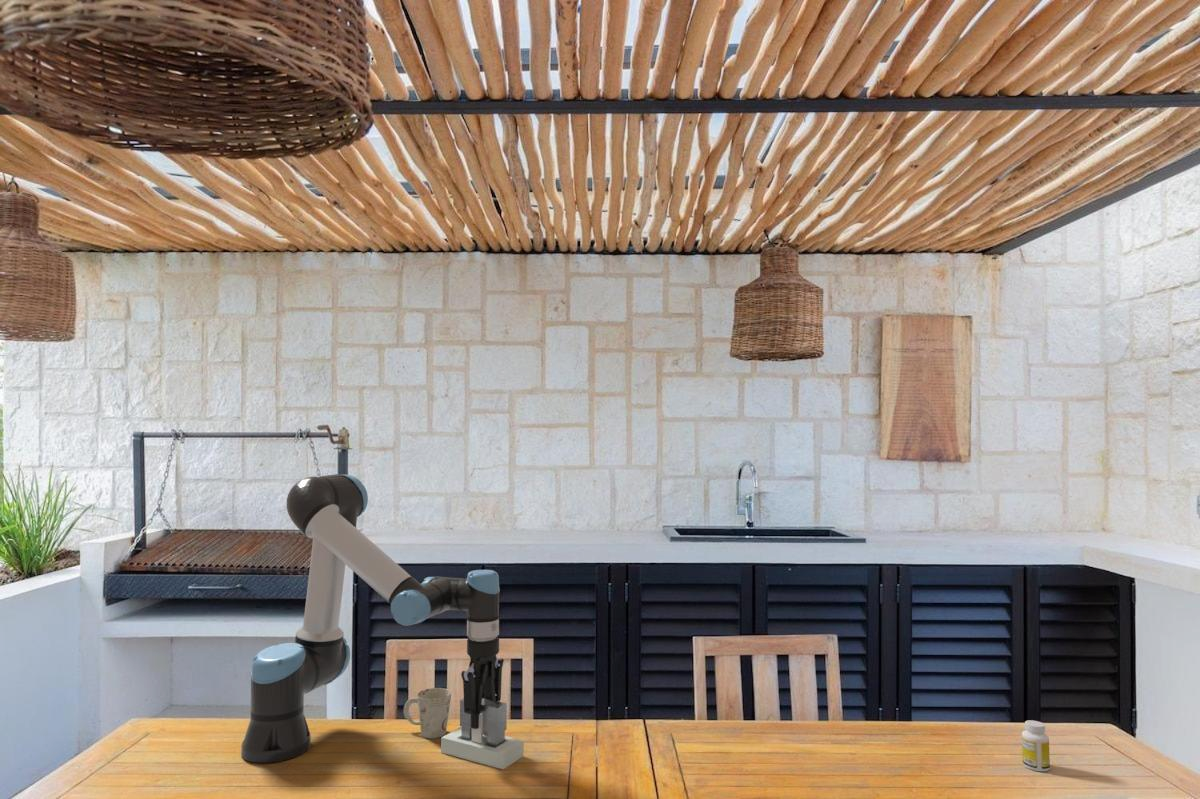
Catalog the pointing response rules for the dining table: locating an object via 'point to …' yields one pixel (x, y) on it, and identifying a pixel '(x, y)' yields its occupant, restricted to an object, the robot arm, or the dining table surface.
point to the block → (482, 750)
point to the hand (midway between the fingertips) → (482, 738)
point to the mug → (431, 711)
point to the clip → (487, 722)
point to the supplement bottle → (1035, 746)
